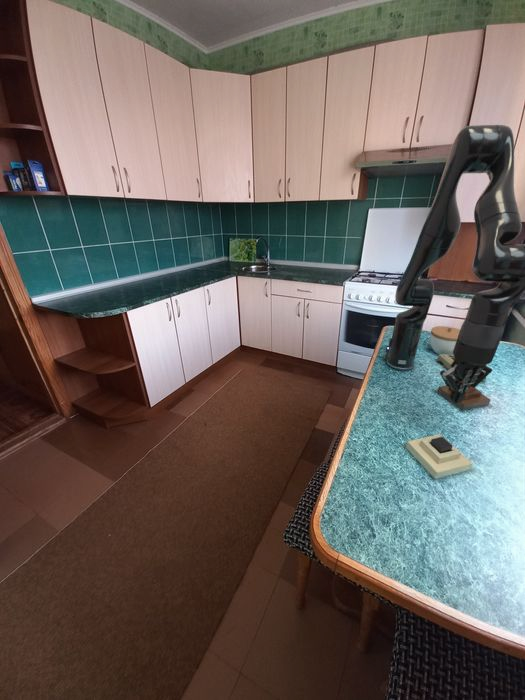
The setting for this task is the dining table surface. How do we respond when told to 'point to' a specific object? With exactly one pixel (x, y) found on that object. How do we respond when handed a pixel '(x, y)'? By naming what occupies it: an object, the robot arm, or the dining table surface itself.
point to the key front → (441, 445)
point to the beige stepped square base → (438, 458)
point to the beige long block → (447, 361)
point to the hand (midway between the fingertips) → (455, 401)
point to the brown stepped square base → (466, 398)
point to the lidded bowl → (443, 339)
